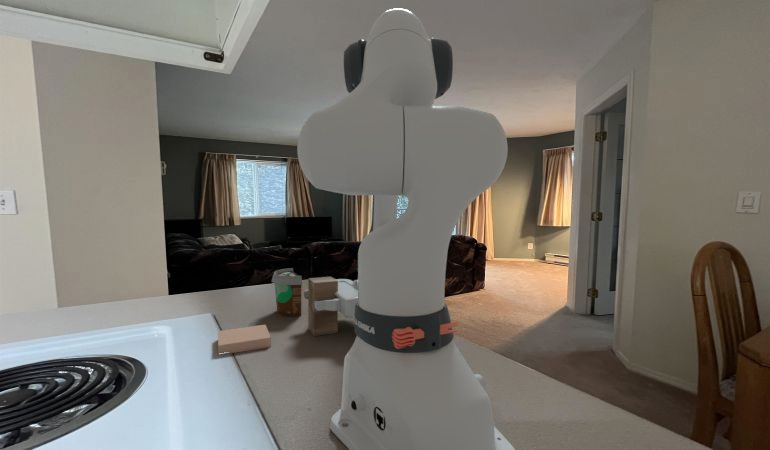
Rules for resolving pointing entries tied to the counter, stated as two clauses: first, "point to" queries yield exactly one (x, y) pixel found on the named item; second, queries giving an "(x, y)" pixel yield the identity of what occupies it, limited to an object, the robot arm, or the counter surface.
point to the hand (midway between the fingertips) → (309, 299)
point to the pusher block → (322, 319)
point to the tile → (243, 339)
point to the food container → (287, 292)
